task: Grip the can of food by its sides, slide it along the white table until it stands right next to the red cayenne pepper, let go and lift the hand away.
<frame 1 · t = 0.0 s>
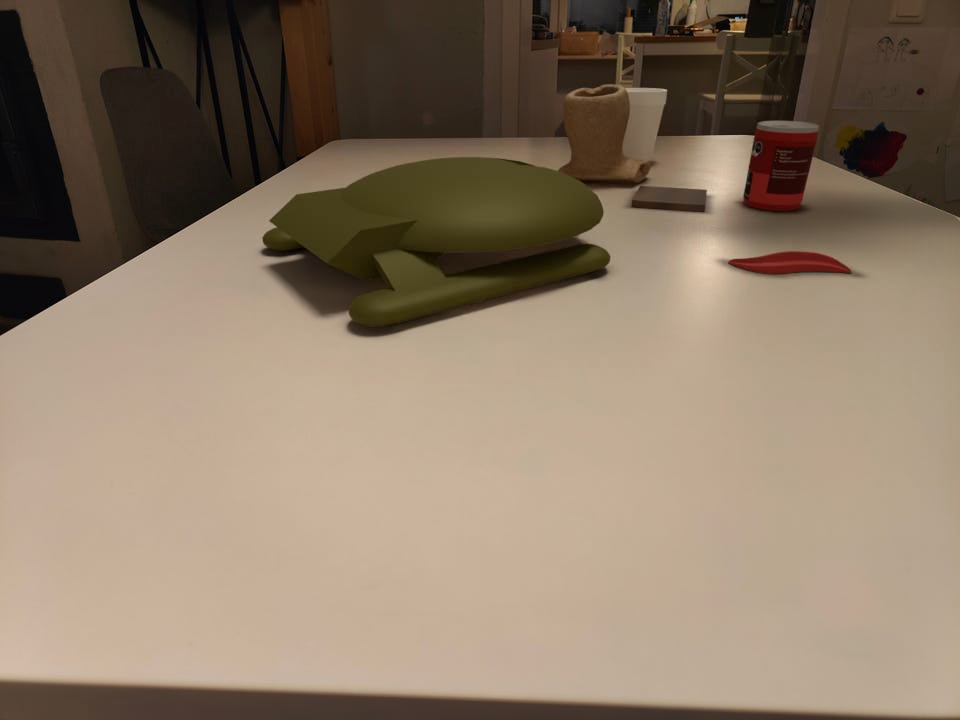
hand: (756, 38, 75), 21 cm above the table, tool pointing down, fingers open, 13 cm apart
spaceship: (450, 255, 71), on the table
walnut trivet: (669, 201, 91), on the table
canned food: (770, 206, 89), on the table
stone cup: (601, 182, 104), on the table
cayenne pepper: (788, 270, 65), on the table
foam cup: (633, 163, 119), on the table
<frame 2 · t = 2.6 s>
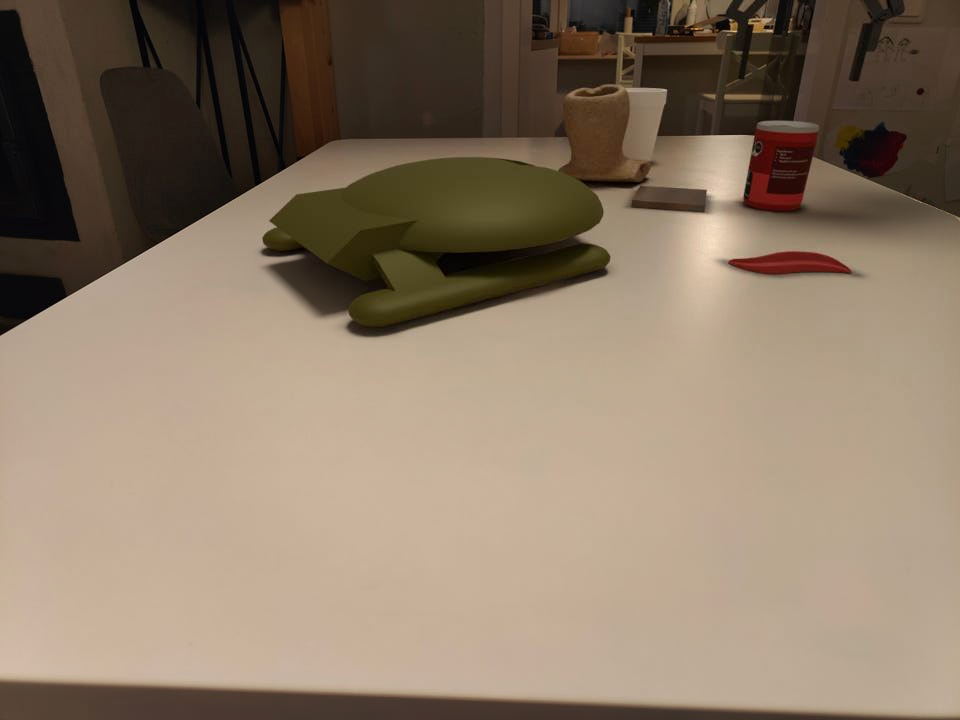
hand: (795, 80, 81), 16 cm above the table, tool pointing down, fingers open, 13 cm apart
nothing on the table moved.
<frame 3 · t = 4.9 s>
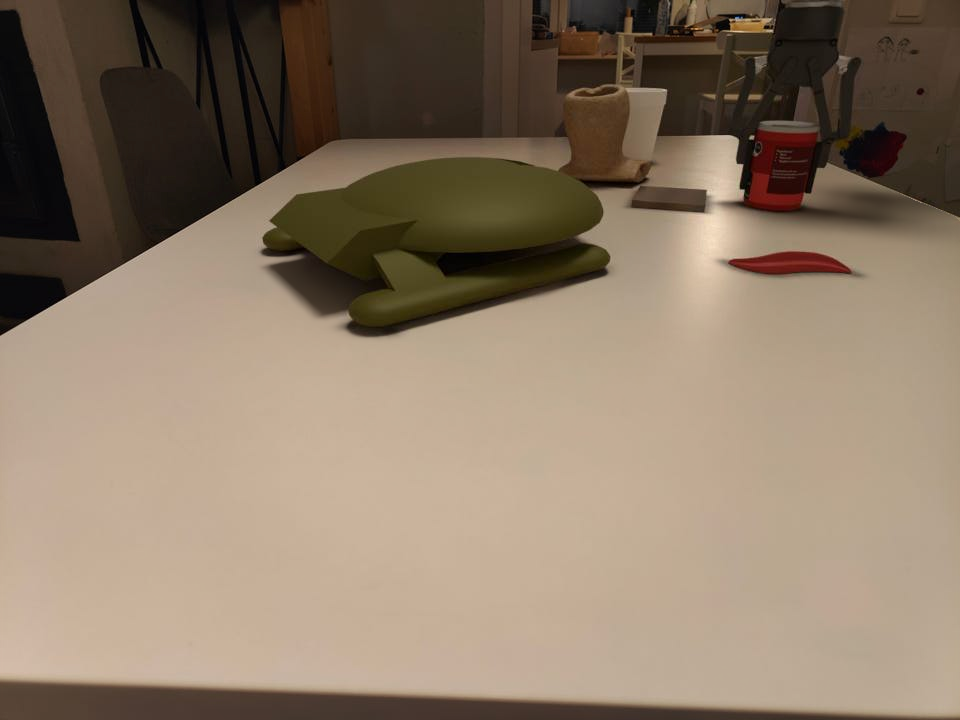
hand: (774, 189, 88), 2 cm above the table, tool pointing down, fingers closed on canned food, 8 cm apart
canned food: (770, 206, 89), on the table, touching gripper
everything else where it was.
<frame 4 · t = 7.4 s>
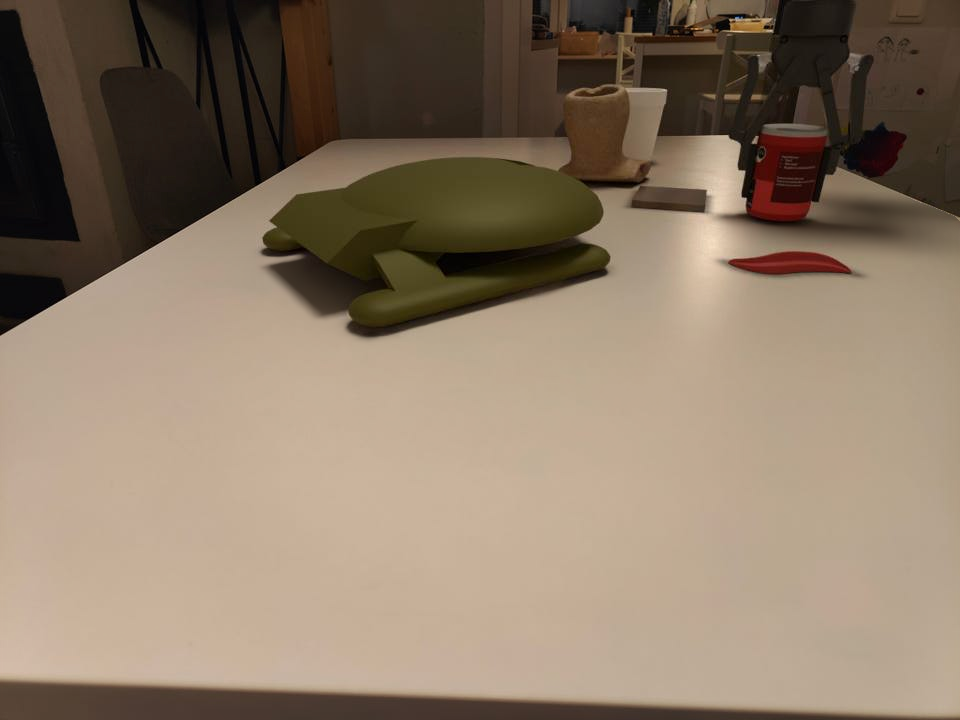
hand: (778, 197, 81), 3 cm above the table, tool pointing down, fingers closed on canned food, 8 cm apart
canned food: (774, 215, 83), on the table, touching gripper
everything else where it was.
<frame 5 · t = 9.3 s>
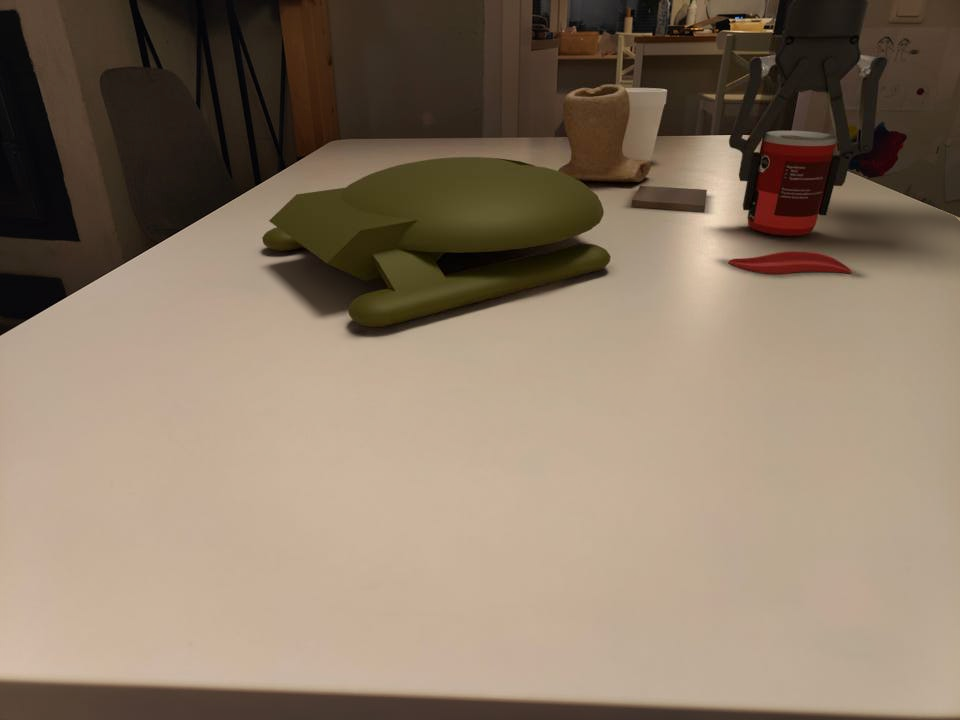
hand: (783, 209, 76), 3 cm above the table, tool pointing down, fingers closed on canned food, 8 cm apart
canned food: (779, 229, 77), on the table, touching gripper
everything else where it was.
when the fingers open (2 cm above the table, at t = 10.1 s): canned food stays where it is, on the table.
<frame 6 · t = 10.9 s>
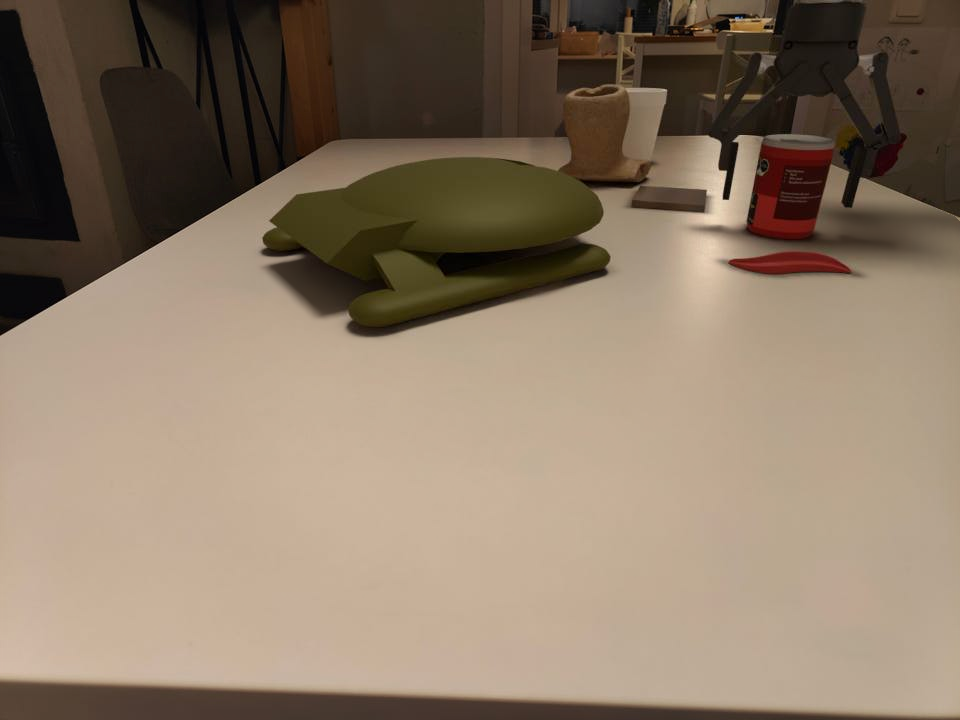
hand: (784, 201, 75), 4 cm above the table, tool pointing down, fingers open, 13 cm apart
canned food: (777, 232, 77), on the table
everything else where it was.
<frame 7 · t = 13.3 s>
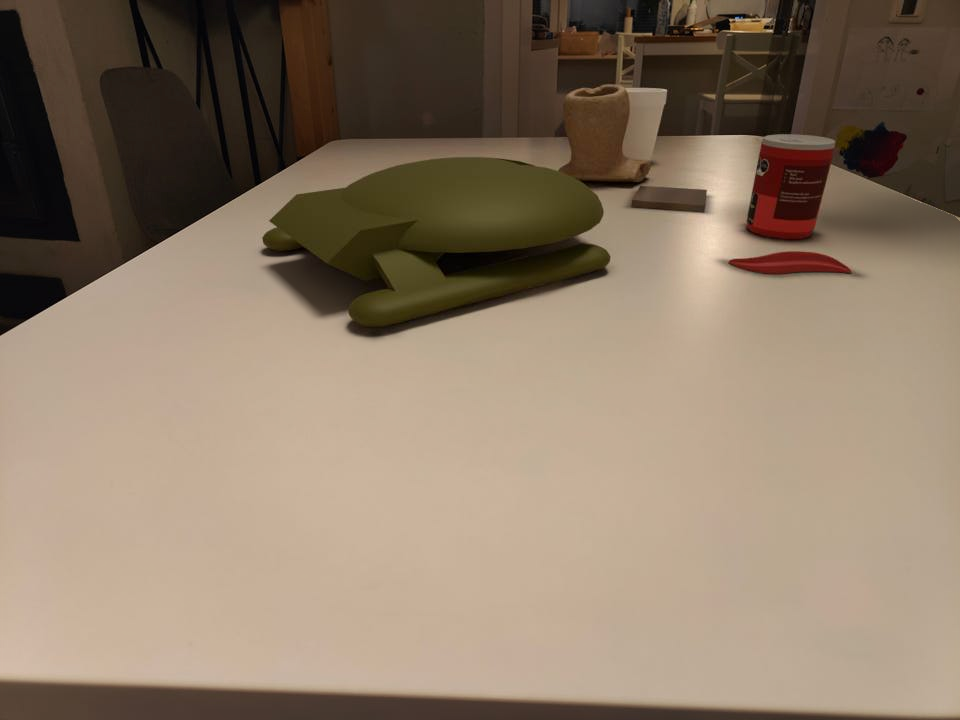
hand: (843, 17, 75), 24 cm above the table, tool pointing down, fingers open, 13 cm apart
nothing on the table moved.
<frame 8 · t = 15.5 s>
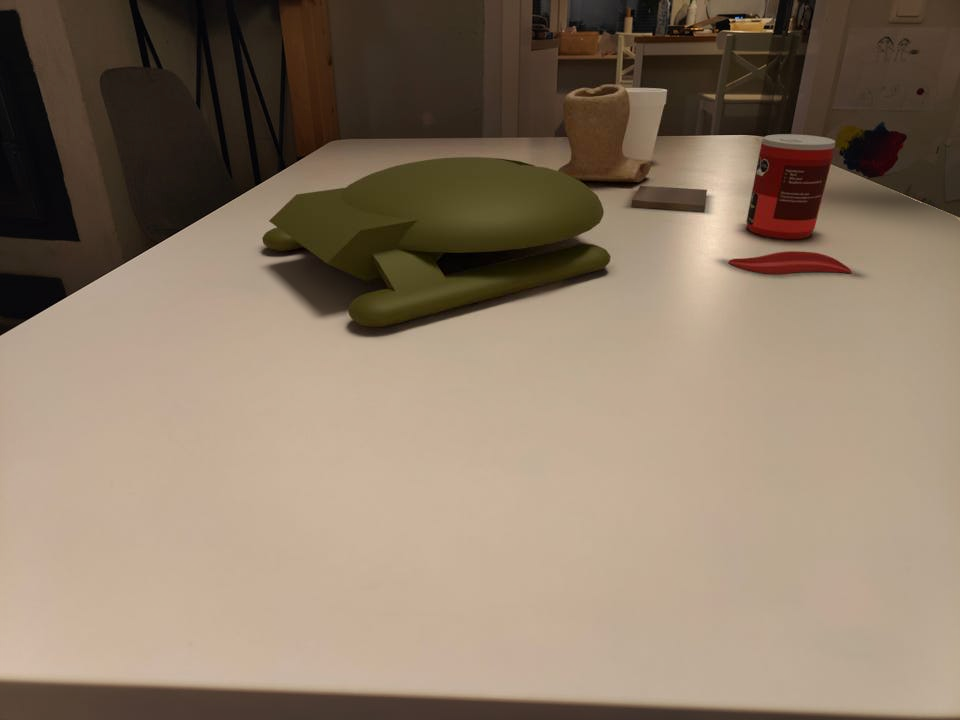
nothing on the table moved.
at the end: canned food 15.0 cm from the cayenne pepper (horizontally); canned food moved 14.0 cm from its start; canned food tilted 0° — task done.
